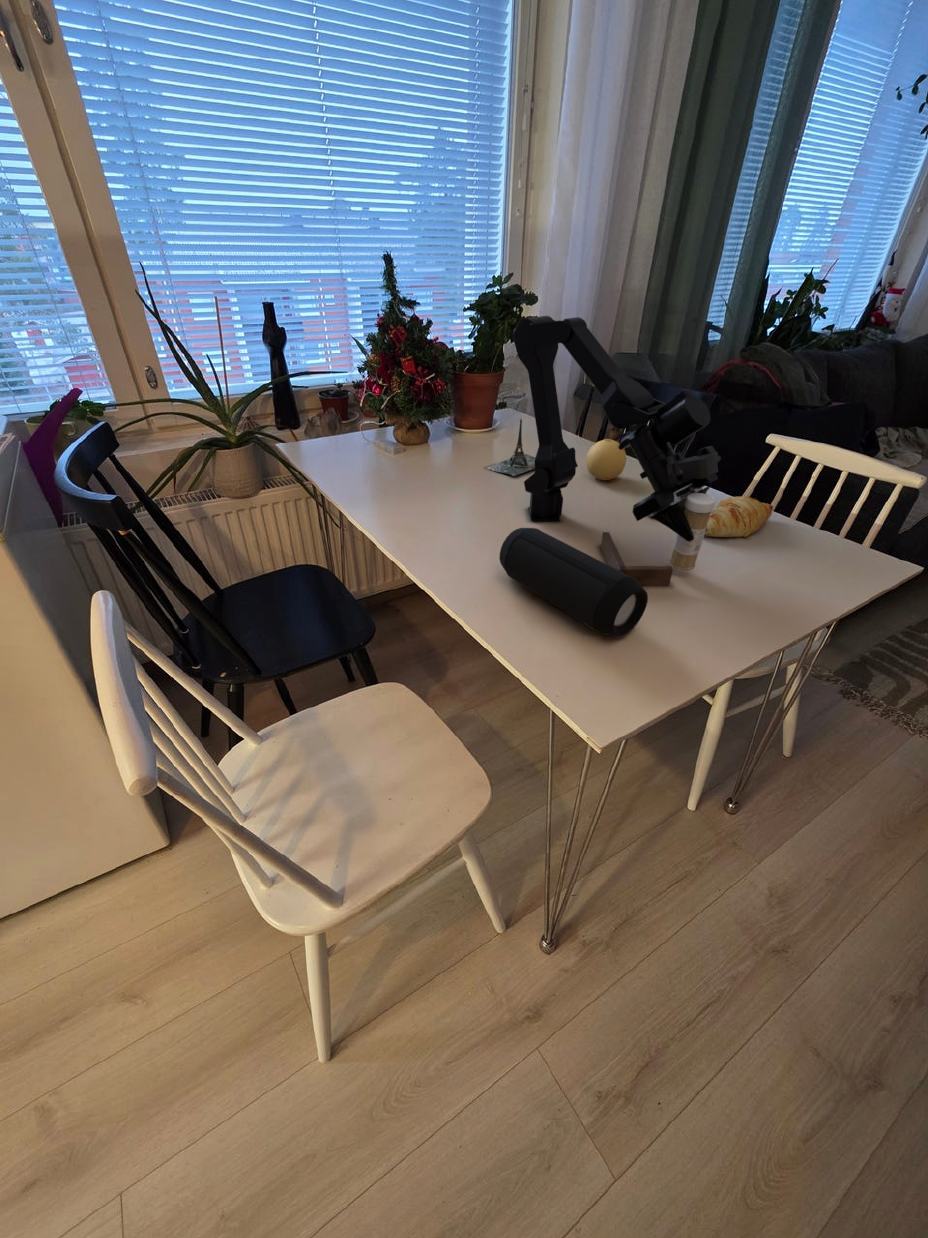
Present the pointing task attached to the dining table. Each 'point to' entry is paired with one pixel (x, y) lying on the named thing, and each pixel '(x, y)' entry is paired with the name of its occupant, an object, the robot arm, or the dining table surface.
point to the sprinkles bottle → (697, 516)
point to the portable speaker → (574, 581)
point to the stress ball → (606, 459)
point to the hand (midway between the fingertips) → (698, 536)
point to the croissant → (737, 517)
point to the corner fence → (640, 573)
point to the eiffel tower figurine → (516, 460)
